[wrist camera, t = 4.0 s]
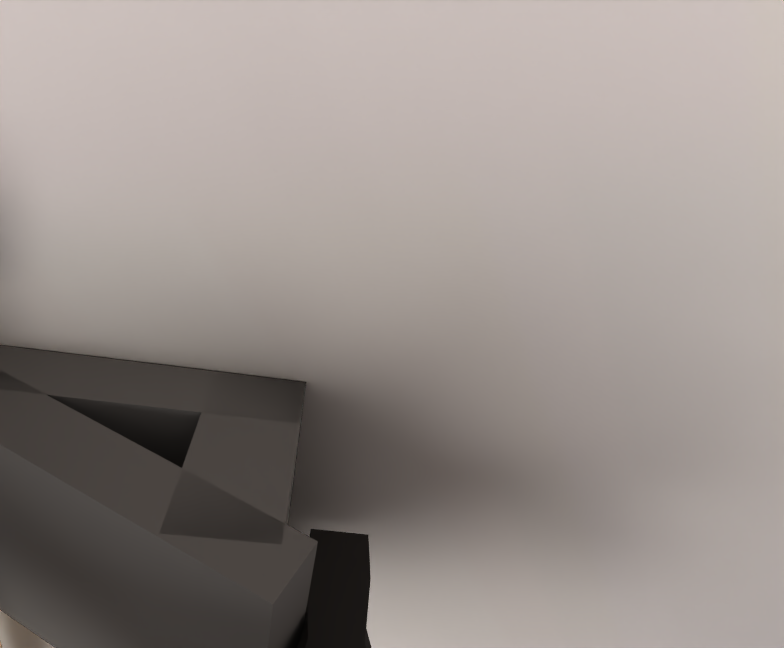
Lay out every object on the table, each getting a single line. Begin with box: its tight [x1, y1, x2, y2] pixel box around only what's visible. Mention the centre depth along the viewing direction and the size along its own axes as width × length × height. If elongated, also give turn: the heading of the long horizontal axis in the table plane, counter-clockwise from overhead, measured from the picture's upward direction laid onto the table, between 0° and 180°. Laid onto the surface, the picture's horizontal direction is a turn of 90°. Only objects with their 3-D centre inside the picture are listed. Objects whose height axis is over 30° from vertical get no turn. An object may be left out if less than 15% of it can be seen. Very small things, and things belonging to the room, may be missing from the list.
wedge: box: [0, 345, 318, 648], centre depth 10 cm, size 6×5×4 cm
